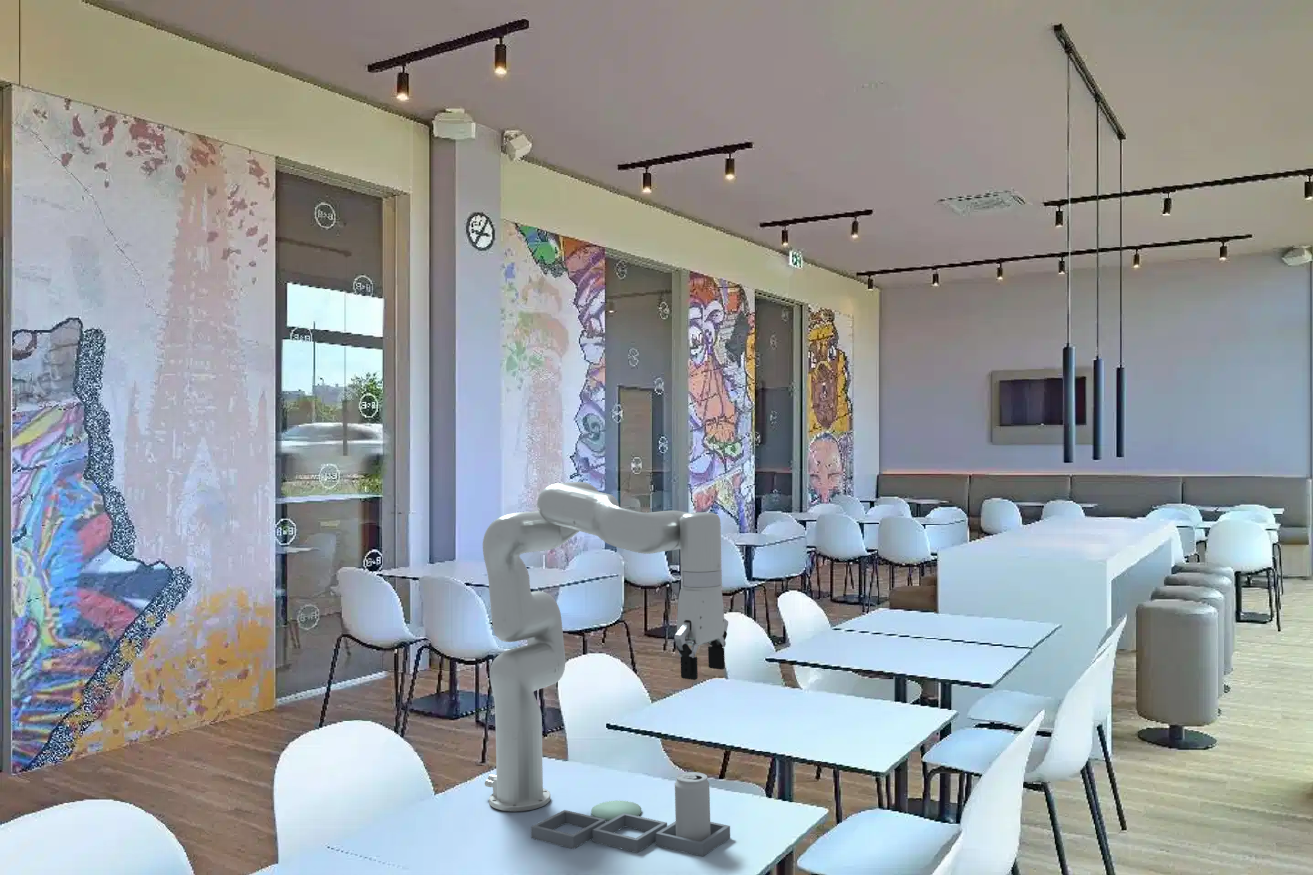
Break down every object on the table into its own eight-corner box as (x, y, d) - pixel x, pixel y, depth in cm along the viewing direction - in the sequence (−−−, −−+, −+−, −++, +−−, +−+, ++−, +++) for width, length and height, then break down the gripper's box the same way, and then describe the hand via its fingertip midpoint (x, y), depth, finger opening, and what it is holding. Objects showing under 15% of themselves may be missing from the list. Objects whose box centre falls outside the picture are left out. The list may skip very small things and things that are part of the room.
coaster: (581, 815, 197) (581, 812, 197) (610, 800, 205) (610, 797, 205) (622, 825, 191) (622, 821, 191) (651, 809, 200) (650, 806, 200)
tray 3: (655, 845, 181) (655, 833, 181) (684, 827, 190) (684, 815, 190) (702, 856, 176) (702, 843, 176) (730, 837, 184) (730, 825, 184)
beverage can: (707, 849, 179) (706, 782, 179) (673, 847, 180) (671, 780, 180) (713, 836, 185) (711, 771, 185) (679, 834, 186) (678, 769, 187)
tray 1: (531, 838, 186) (531, 826, 186) (564, 821, 194) (564, 809, 194) (573, 848, 180) (573, 836, 180) (605, 830, 189) (605, 819, 189)
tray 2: (592, 841, 183) (592, 829, 183) (623, 824, 192) (623, 812, 192) (637, 852, 178) (637, 840, 178) (667, 834, 186) (667, 822, 186)
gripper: (707, 573, 191) (709, 662, 191) (658, 584, 177) (660, 680, 176) (741, 575, 187) (743, 666, 187) (694, 586, 173) (696, 685, 172)
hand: (703, 673), depth 182 cm, fingers open, 9 cm apart
